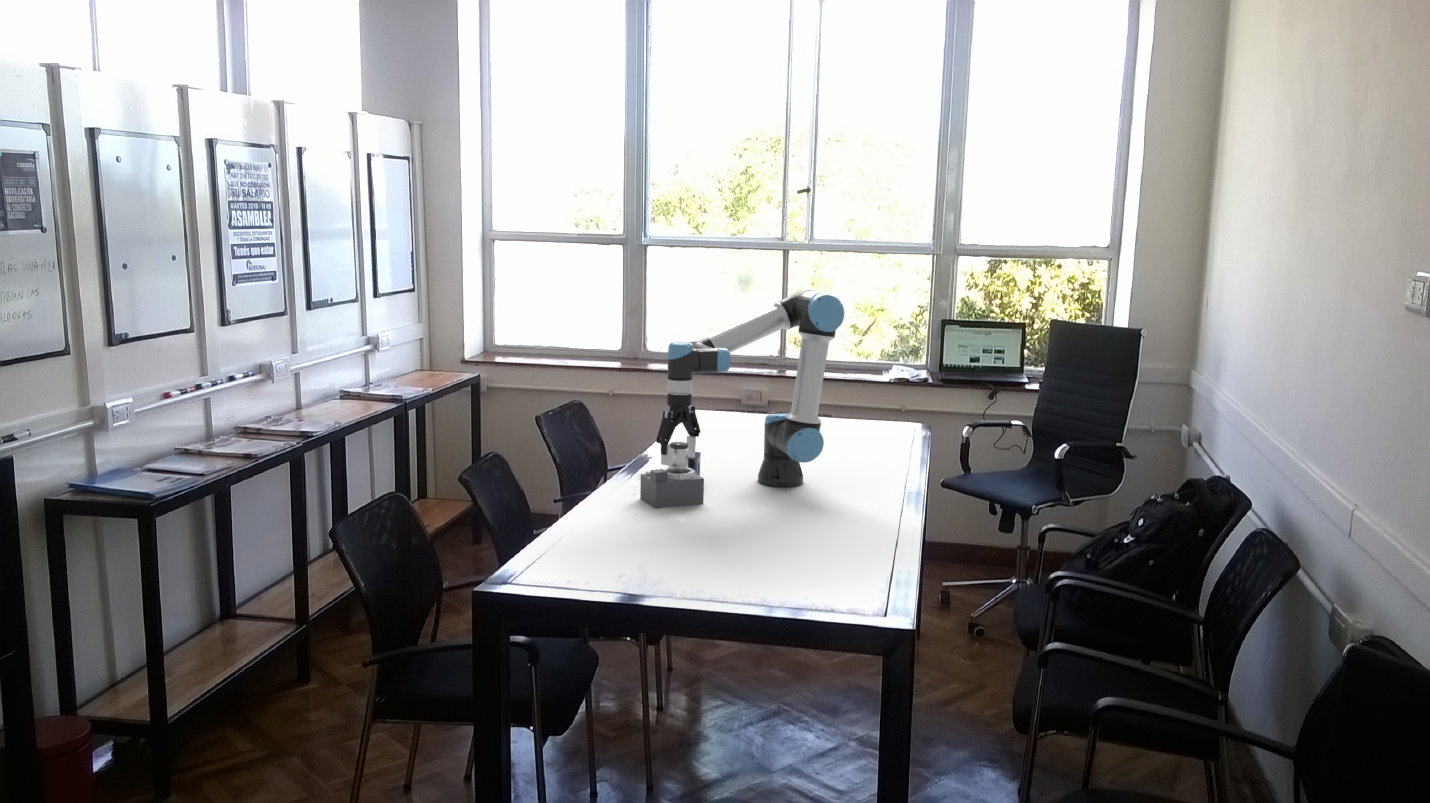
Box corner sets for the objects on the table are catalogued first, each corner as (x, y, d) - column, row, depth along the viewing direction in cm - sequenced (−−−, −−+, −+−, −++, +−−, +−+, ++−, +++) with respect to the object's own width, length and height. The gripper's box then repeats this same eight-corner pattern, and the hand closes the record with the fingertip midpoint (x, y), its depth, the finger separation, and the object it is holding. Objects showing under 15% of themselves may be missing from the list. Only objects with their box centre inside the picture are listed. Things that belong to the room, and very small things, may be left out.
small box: (693, 490, 354) (694, 458, 352) (674, 488, 355) (674, 457, 353) (700, 482, 364) (701, 451, 362) (681, 480, 365) (682, 450, 364)
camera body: (686, 494, 349) (687, 460, 347) (703, 503, 338) (704, 468, 336) (640, 498, 342) (640, 464, 340) (655, 508, 331) (656, 473, 329)
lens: (691, 475, 340) (692, 443, 338) (680, 478, 335) (681, 446, 333) (675, 472, 343) (676, 440, 342) (664, 475, 339) (665, 444, 337)
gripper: (692, 386, 347) (691, 451, 351) (645, 396, 326) (644, 466, 330) (712, 389, 343) (710, 455, 347) (665, 399, 322) (664, 470, 326)
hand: (678, 460), depth 339 cm, fingers open, 13 cm apart
